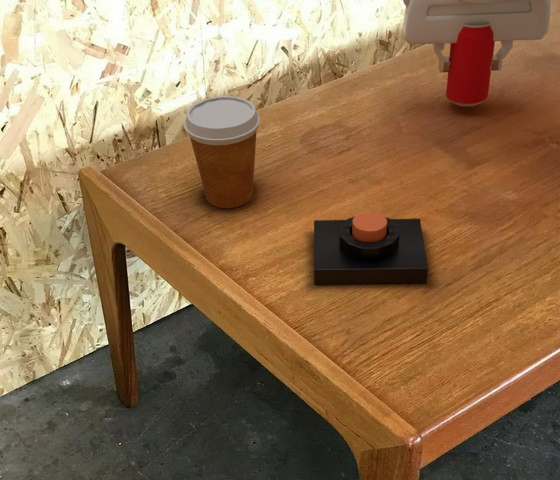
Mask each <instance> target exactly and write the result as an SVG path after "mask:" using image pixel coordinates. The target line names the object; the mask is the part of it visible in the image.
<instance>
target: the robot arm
mask: <svg viewBox="0 0 560 480" xmlns="http://www.w3.org/2000/svg"><path fill="white" fill-rule="evenodd" d="M402 1H403V4H404V5H405V9H404V15H403V23H402V36H403V40H405V41H406V43H407V44H408V45H411V46H412V45H413V46H414V45H416V46H417V45H432V46H433V47H432V48H433V51H434V53H435V55H436V57H437V59H438V73H439V74H440V73H448V72H450V63H451V61H450V59H449V56H450V55H448V56H444V54H443V51H444V50H445V44H451V43H456V42H457V39H458V34H459V33H460V31H461V30H462V28H463V25H464V24H466V25H485V24H488V23H490V27H491V29H492V31H493V34H494V36H493V41H495V42H500V45H501V47H499V49H498V50H497V52H496V54H493V60H492V67H491V72H492V71H495V72H496V71H502V67H503V61H504V59H505V58H506V57H507V55H508V54H509V53H510V51H511V50H512V49H513V45H514V42H515V41H516V42H517V41H538V40H541V39H543V38H544V37H545V36H546V35H547V34H548V32H549V28H550V21H551V5H552V4H551V3H552V1H551V0H402Z"/></svg>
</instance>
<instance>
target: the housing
mask: <svg viewBox="0 0 560 480" xmlns="http://www.w3.org/2000/svg"><path fill="white" fill-rule="evenodd" d="M355 216H356V215H354V216H352V217H348V218H347V219H318V220H315V219H314V220H313V285H314V286H316V285H317V286H318V285H320V286H321V285H322V286H323V285H329V286H330V285H395V284H396V285H398V284H399V285H400V284H402V285H403V284H405V285H406V284H407V285H408V284H409V285H410V284H427V282H428V274H429V273H428V272H429V264H428V260H427V252H426V247H425V242H424V235H423V229H422V223H421V218H390V217H387V216H384V217H385V218H386V219H387V232H386V237H385V238H384V239H383V240H380V241H377V242H362V241H359V240H356V239H355V238H354V237H353V235H352V221H353V218H354V217H355Z"/></svg>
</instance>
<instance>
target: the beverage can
mask: <svg viewBox="0 0 560 480" xmlns="http://www.w3.org/2000/svg"><path fill="white" fill-rule="evenodd" d="M493 36H494V34H493V31H492V29H491V27H490V23H488V24H485V25H466V24H464V25H463V28H462V30H461V31H460V33H459V34H458V39H457V42H456V43H450V47H449V55H448V56H449V59H450V61H451V63H450V72H447V79H446V91H445V96H446V98H447V99H448V100H449V101H450V102H451V103H453V104H454V105H456V106H459V107H474V106H477V105H480V104H481V103H483V102H485V101H486V100H487V99H488V97H489V91H490V82H491V75H492V71H491V67H492V60H493V55H494V53H495V52H494V51H495V44H496V41H493Z"/></svg>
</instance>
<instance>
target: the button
mask: <svg viewBox="0 0 560 480" xmlns="http://www.w3.org/2000/svg"><path fill="white" fill-rule="evenodd" d="M354 216H355V217H354ZM354 216H353V217H354V218H353V221H352V235H353V237H354V238H355V239H356V240H359V241H362V242H377V241H380V240H383V239H384V238H385V237H386V232H387V219H386V218H385V217H386V216H385V215H384V214H382V213H380V212H376V211H363V212H360V213H358V214H356V215H354Z"/></svg>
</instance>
